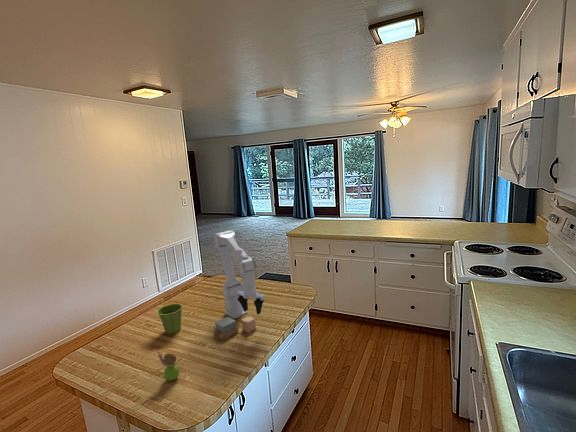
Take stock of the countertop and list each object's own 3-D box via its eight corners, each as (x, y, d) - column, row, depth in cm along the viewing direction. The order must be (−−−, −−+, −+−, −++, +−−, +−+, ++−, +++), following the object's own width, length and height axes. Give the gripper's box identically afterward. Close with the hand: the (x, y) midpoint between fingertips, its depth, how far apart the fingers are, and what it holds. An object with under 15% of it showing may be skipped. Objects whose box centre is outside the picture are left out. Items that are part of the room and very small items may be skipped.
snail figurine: (164, 375, 116) (159, 346, 114) (181, 373, 116) (177, 344, 114) (160, 385, 111) (154, 355, 109) (178, 383, 111) (173, 353, 109)
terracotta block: (242, 329, 144) (241, 319, 143) (250, 325, 147) (249, 315, 146) (248, 332, 141) (247, 322, 140) (256, 328, 144) (254, 318, 143)
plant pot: (190, 328, 150) (187, 307, 148) (167, 339, 141) (163, 317, 139) (178, 321, 158) (175, 301, 156) (156, 331, 149) (152, 310, 148)
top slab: (215, 328, 142) (214, 322, 142) (228, 322, 147) (227, 316, 147) (223, 333, 137) (222, 327, 137) (236, 326, 142) (235, 320, 142)
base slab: (214, 334, 143) (213, 328, 142) (228, 327, 148) (228, 321, 148) (223, 340, 137) (222, 334, 136) (238, 333, 142) (237, 327, 142)
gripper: (231, 285, 140) (234, 313, 142) (256, 290, 133) (260, 319, 135) (240, 280, 146) (244, 306, 148) (265, 283, 139) (268, 311, 141)
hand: (252, 312), depth 142 cm, fingers open, 7 cm apart
